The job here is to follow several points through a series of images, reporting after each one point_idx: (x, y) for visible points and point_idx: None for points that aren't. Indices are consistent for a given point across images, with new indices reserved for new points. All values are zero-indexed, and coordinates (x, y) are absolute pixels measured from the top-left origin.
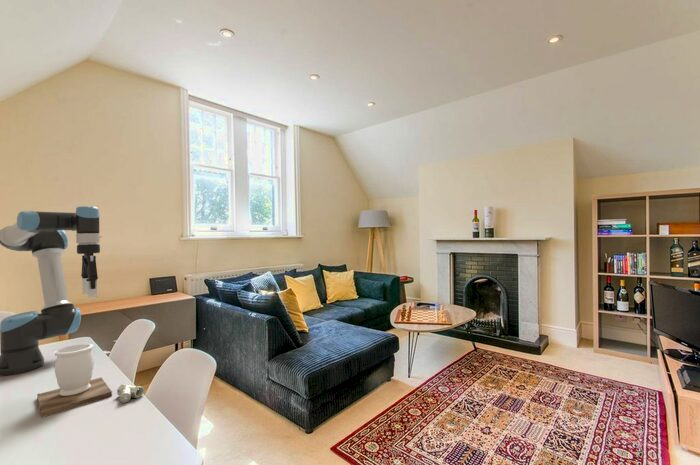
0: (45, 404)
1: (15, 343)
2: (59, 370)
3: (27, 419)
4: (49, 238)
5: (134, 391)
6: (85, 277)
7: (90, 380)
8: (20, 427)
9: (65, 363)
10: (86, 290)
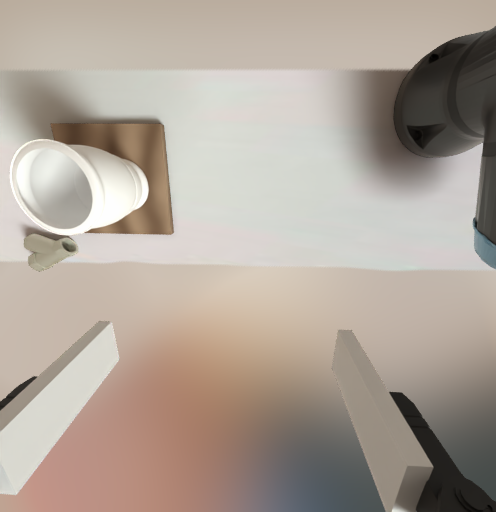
0: (87, 132)
1: (481, 54)
2: (60, 152)
3: (64, 104)
4: None
5: (28, 256)
6: (433, 507)
7: (167, 216)
8: (35, 92)
9: (40, 164)
10: (342, 366)
